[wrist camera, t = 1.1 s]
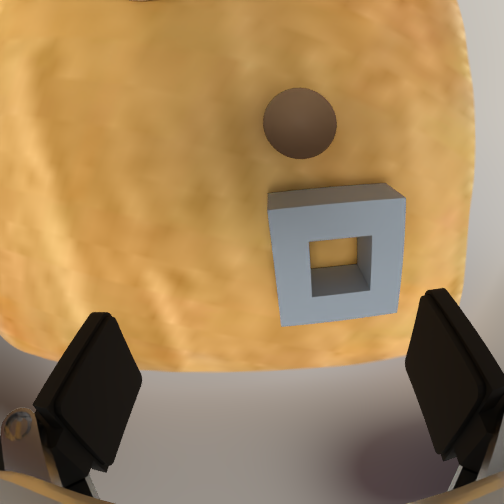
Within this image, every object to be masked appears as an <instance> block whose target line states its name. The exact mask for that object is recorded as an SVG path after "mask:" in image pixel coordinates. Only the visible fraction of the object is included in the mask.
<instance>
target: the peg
mask: <svg viewBox="0 0 504 504" xmlns="http://www.w3.org/2000/svg"><path fill="white" fill-rule="evenodd" d="M263 126H264V132H265V135H266V137H267V139H268V141H269V142H270V144H271V145H272V146H273V147H274V148H275V149H276V150H277V151H278V152H280V153H281V154H283V155H285V156H288V157H290V158H295V159H307V158H311V157H314V156H317V155H319V154H320V153H322V152H323V151H325V150H326V149H327V148H328V147H329V145H330V144H331V143H332V141H333V139H334V136H335V133H336V128H337V121H336V115H335V112H334V110H333V108H332V106H331V105H330V103H329V102H328V101H327V100H326V99H325V98H324V97H323V96H322V95H320V94H319V93H317V92H315V91H313V90H310V89H306V88H292V89H288V90H285V91H283V92H281V93H279V94H278V95H277V96H275V97H274V98H273V99H272V100H271V101H270V103H269V104H268V106H267V108H266V110H265V113H264V119H263Z"/></svg>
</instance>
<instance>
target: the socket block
mask: <svg viewBox="0 0 504 504" xmlns="http://www.w3.org/2000/svg"><path fill="white" fill-rule="evenodd" d="M267 212H268V219H269V227H270V235H271V243H272V251H273V259H274V268H275V276H276V284H277V293H278V301H279V310H280V319H281V327H283V326H294V325H304V324H314V323H323V322H332V321H340V320H348V319H356V318H363V317H370V316H377V315H384V314H391V313H397V308H398V301H399V293H400V284H401V274H402V264H403V251H404V236H405V213H406V198H405V197H404V196H403V195H401V194H400V193H399V192H397V191H396V190H394V189H393V188H392V187H390V186H389V185H387V184H386V183H377V184H362V185H349V186H336V187H325V188H314V189H303V190H293V191H284V192H274V193H268V205H267ZM350 237H357V264H352V265H343V266H334V267H325V268H316V269H310V253H309V242H311V241H321V240H330V239H340V238H350Z"/></svg>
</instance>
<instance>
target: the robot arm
mask: <svg viewBox="0 0 504 504" xmlns="http://www.w3.org/2000/svg"><path fill="white" fill-rule="evenodd" d="M131 1H147V0H131ZM405 367H406V371H407V373H408V376H409V378H410V381H411V384H412V386H413V389H414V392H415V394H416V397H417V399H418V402H419V405H420V408H421V410H422V413H423V416H424V419H425V422H426V425H427V428H428V430H429V434H430V437H431V440H432V442H433V446H434V448H435V451H436V453H437V454H441V456H442V459H443V461H446V460H449V459H452V458H455V457H457V459H458V462H459V467H458V470H457V472H456V474H455V476H454V478H453V481H452V483H451V485H450V487H449V489H448V491H447V492H445V493H442V494H439V495H435V496H432V497H429V498H426V499H422V500H418V501H415V502H412V503H408V504H504V373H503V372H502V370H501V368H500V367H499V365H498V364H497V362H496V360H495V359H494V357H493V356H492V354H491V352H490V351H489V349H488V348H487V346H486V345H485V343H484V342H483V340H482V339H481V337H480V336H479V334H478V333H477V331H476V330H475V328H474V327H473V326H472V324H471V323H470V321H469V320H468V319H467V317H466V316H465V314H464V313H463V312H462V310H461V309H460V307H459V306H458V305H457V303H456V302H455V301H454V299H453V298H452V297H451V295H450V294H449V293H448V291H447V290H446V289H445V288H440V289H433V290H428V291H426V293H425V296H422V297H421V298H420V302H419V307H418V311H417V316H416V320H415V324H414V328H413V332H412V336H411V340H410V344H409V348H408V352H407V355H406V359H405ZM141 383H142V376H141V373H140V371H139V369H138V367H137V365H136V363H135V361H134V359H133V357H132V354H131V352H130V350H129V348H128V346H127V343H126V341H125V339H124V337H123V334H122V332H121V330H120V328H119V325H118V323H117V321H116V319H115V318H114V317H112V316H111V314H110V313H108V312H93V313H91V314H90V315H89V317H88V318H87V319H86V321H85V322H84V324H83V325H82V327H81V328H80V330H79V331H78V333H77V334H76V336H75V337H74V339H73V340H72V342H71V343H70V345H69V346H68V348H67V349H66V351H65V352H64V354H63V355H62V357H61V359H60V360H59V362H58V363H57V365H56V366H55V368H54V370H53V371H52V373H51V375H50V376H49V378H48V380H47V381H46V383H45V384H44V386H43V388H42V389H41V391H40V393H39V395H38V396H37V398H36V400H35V401H34V403H33V406H34V407H35V408H36V412H35V413H33V412H32V411H31V410H30V409H28V408H18V409H15V410H13V411H12V412H10V413H9V414H8V415H7V416H6V417H5V419H4V420H3V422H2V425H1V431H0V434H1V435H0V504H114V503H110V502H107V501H103V500H100V498H99V496H98V493H97V491H96V489H95V487H94V484H93V482H92V480H91V477H90V475H89V472H90V469H91V468H92V469H94V470H98V471H102V472H107V469H108V466H110V465H112V464H113V462H114V460H115V457H116V454H117V451H118V448H119V445H120V442H121V439H122V436H123V433H124V430H125V427H126V424H127V422H128V419H129V417H130V414H131V411H132V408H133V405H134V403H135V400H136V397H137V395H138V392H139V389H140V387H141Z"/></svg>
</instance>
